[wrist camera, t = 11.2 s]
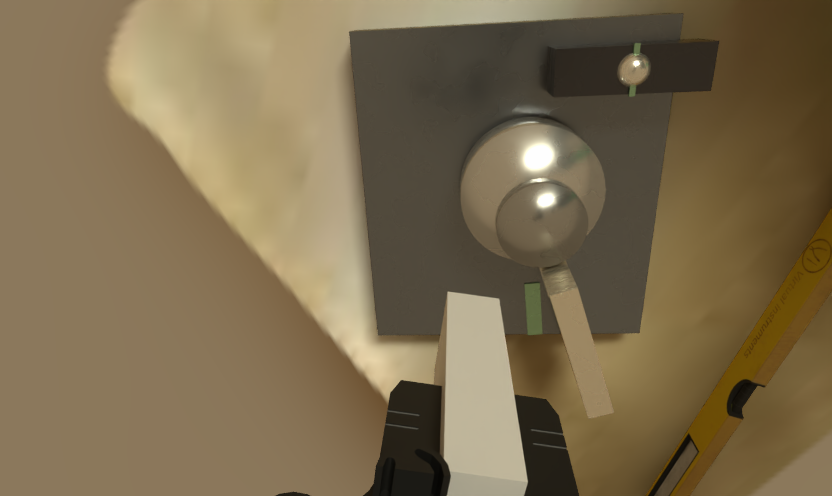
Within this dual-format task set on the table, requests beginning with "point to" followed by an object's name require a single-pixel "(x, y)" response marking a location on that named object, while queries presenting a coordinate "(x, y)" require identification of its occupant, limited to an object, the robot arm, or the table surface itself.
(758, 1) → the table surface
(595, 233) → the stand
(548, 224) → the silver ladle
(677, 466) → the spirit level
